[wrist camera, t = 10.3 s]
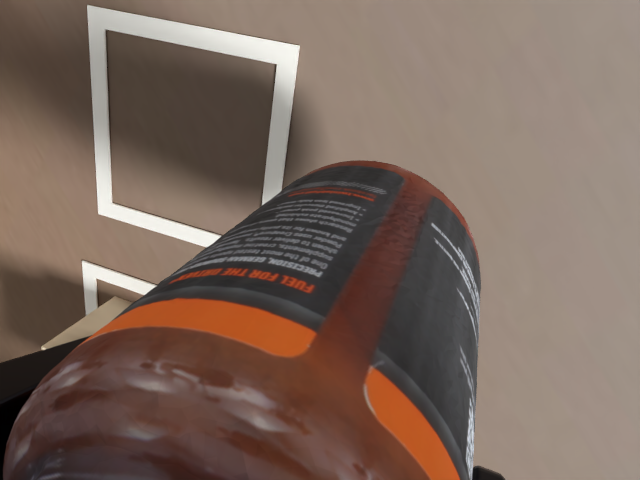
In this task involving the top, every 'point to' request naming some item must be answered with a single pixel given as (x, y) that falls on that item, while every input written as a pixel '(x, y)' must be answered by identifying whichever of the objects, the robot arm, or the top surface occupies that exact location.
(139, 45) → the top surface
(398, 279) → the supplement bottle
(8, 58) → the top surface
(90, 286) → the blueprint lines
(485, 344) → the top surface
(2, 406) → the robot arm
